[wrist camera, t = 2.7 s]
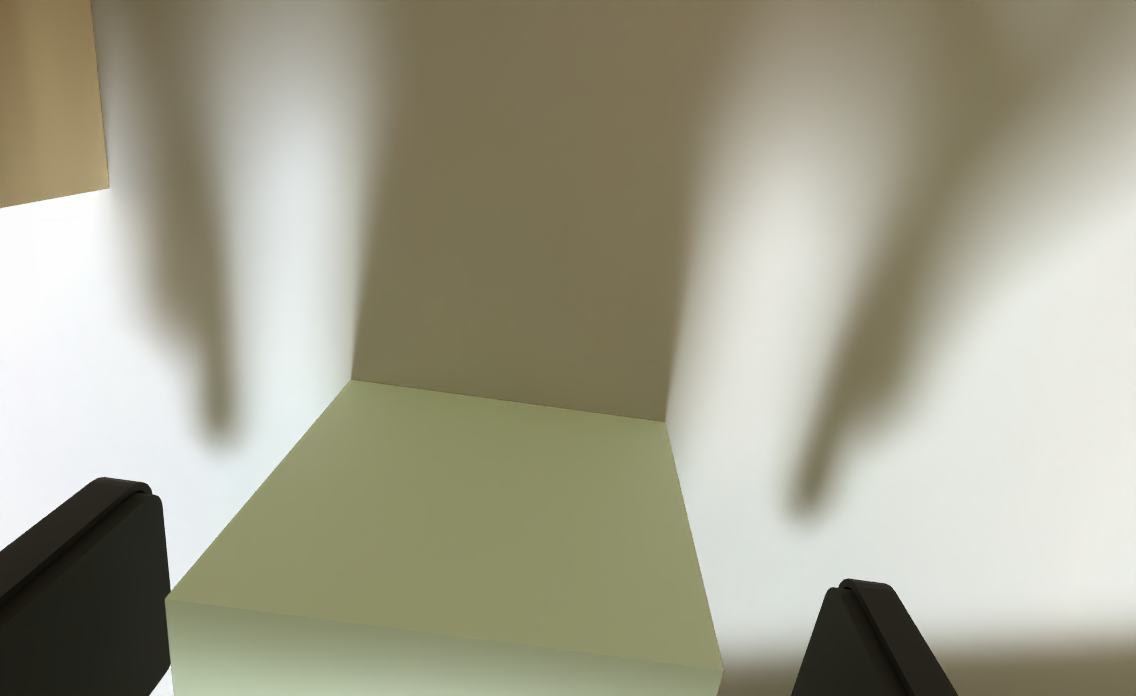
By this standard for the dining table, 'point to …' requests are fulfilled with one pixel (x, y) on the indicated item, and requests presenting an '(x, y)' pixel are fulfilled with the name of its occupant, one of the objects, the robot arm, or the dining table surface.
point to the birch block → (49, 102)
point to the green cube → (453, 560)
